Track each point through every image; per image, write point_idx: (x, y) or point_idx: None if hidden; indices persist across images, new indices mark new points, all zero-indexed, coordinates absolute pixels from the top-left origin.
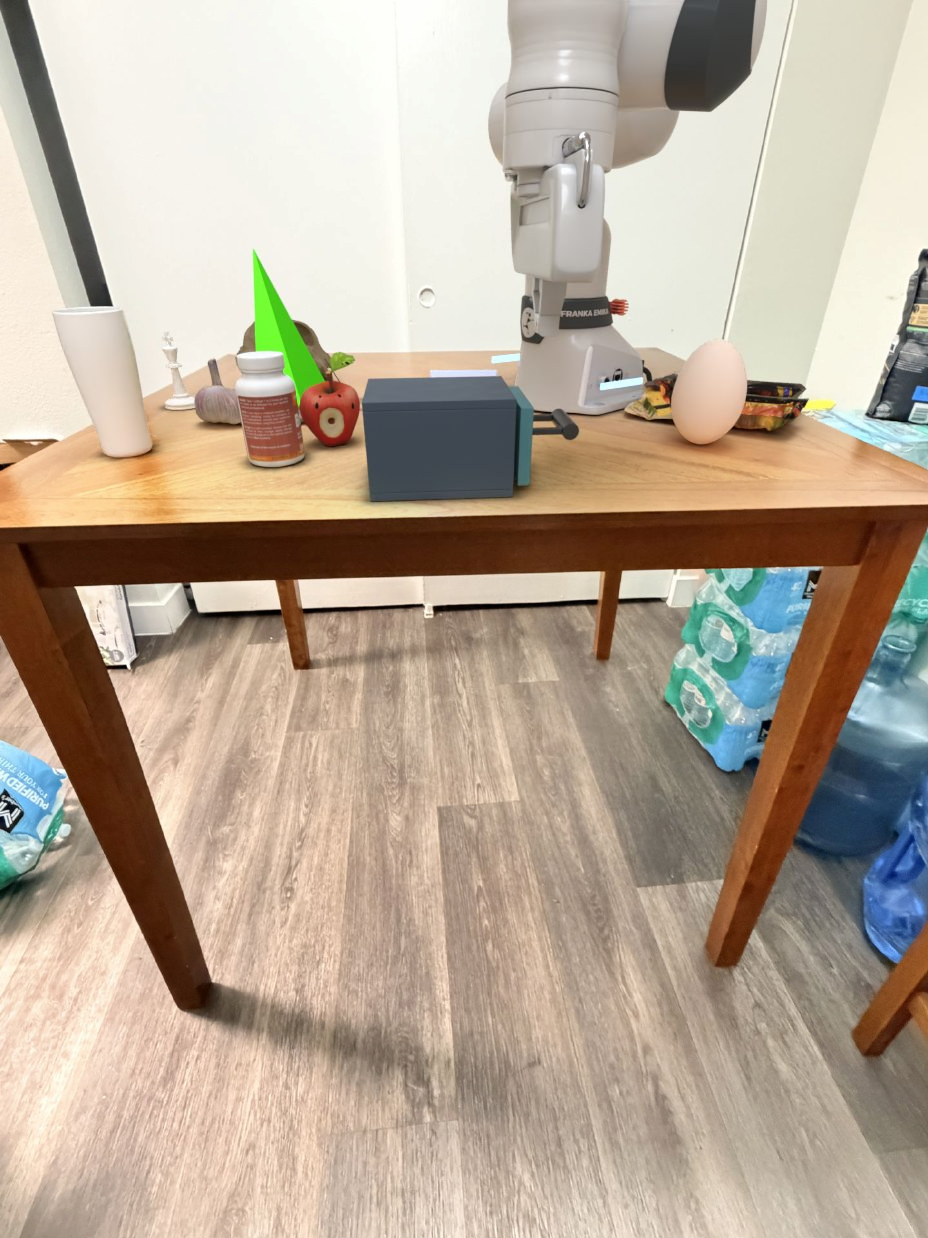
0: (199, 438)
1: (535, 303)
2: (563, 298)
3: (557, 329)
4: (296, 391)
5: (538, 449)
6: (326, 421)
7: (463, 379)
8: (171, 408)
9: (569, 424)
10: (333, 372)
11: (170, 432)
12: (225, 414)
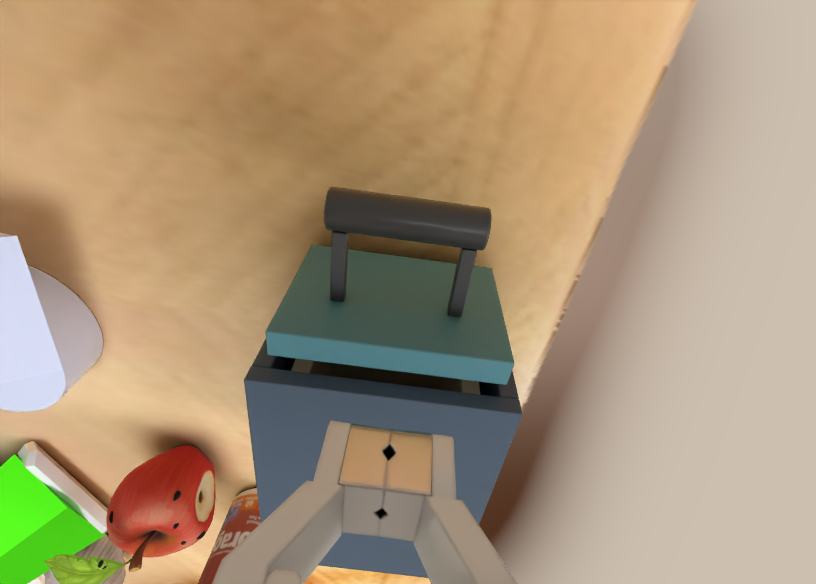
0: (176, 557)
1: (318, 563)
2: (510, 576)
3: (451, 450)
4: (40, 529)
5: (207, 155)
6: (205, 502)
7: (286, 452)
8: (44, 580)
9: (486, 242)
10: None
11: (153, 575)
12: (121, 561)
